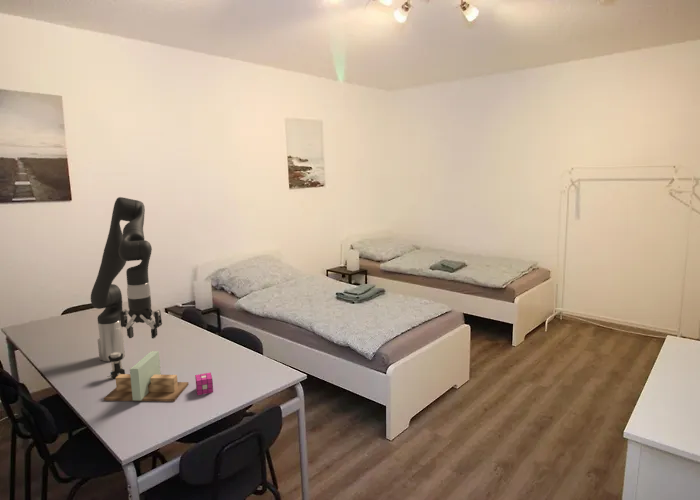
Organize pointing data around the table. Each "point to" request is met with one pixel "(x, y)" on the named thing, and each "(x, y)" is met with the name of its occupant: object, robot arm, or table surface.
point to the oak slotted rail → (158, 389)
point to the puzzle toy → (204, 383)
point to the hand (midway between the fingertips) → (142, 337)
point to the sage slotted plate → (144, 374)
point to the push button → (116, 364)
